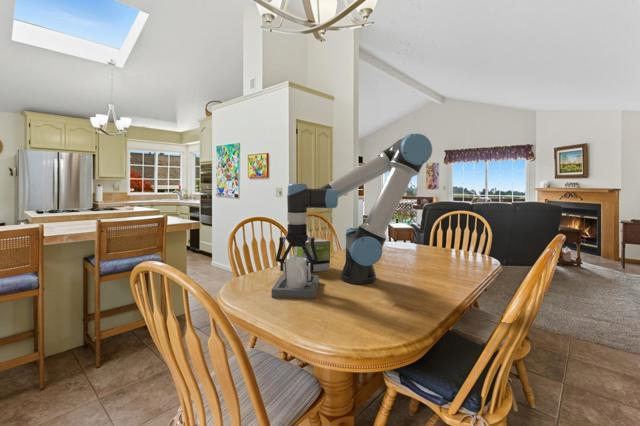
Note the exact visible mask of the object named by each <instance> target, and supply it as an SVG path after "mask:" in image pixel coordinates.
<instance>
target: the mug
mask: <svg viewBox="0 0 640 426" xmlns="http://www.w3.org/2000/svg"><path fill="white" fill-rule="evenodd" d="M285 262H286V281H287V286H288V287H290V288H301V287H304V286H306V285H307V275H308V272H307V262H306V259H305V258H301V257H295V258H294V257H289V258H287V259H285Z"/></svg>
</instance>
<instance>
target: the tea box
mask: <svg viewBox="0 0 640 426" xmlns="http://www.w3.org/2000/svg"><path fill="white" fill-rule="evenodd" d="M314 238H315V237H314ZM305 244H306V247H307V249H308V251H309V253H310V255H311V256H312V258H313V259H314V256H313V252H312V248H311V243H310V242H309V240H307V241H306V242H305ZM314 244H315V248H316V252H317V256H318V262H317V263H314V270H313V272H314V273H315V272H323V271H324V272H325V271H330V266H331V265H330V264H331V241H330V240H329V239H326V238H322V237H317V238H315V241H314ZM293 250H294V251H293V252H294V253H293V258H295V257H301V258H305V259H306V262H307V273H308V264H309V263H310V262H309V260H308V258H307V256H306V254H305V252H304V250H303V249H302V247H293ZM313 272H312V273H313Z"/></svg>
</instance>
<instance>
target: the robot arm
mask: <svg viewBox="0 0 640 426" xmlns="http://www.w3.org/2000/svg"><path fill="white" fill-rule="evenodd" d="M432 154H433V145H432V143H431V141H430V139H429V138H428V137H427V136H426V135H424V134H423V133H409V134H407V135H406V136H404V137H403V138H399V139H398V140H397V141H396V142H394V143H393V144H392V145H390V146H389V147H388V148H386V149H385V150H383V151H381V152H380V155H379V156H376V157H375V158H373V159H371V160H369V161H367V162H365V163H364V164H362V165H360V166H359V167H356V168H354V169H352V170H351V171H349V172H347V173H345V174H343V175H341V176H340V177H338V178H336V179H334V180H332V181H330V182H328V183H327V184H325V185H323V186H321V187H318V188H308V185H307V183H297V182H295V183H289V184H288V185H287V196H286V198H287V199H286V200H287V204H286V205H287V215H286V216H287V222H288V223H287V235H286V236H283V235H281V236H280V237H279V239H278V240H279V244H278V249H277V253H276V257H275V262H277V263H280V265H279V266H280V269H279V270H280V272H282V274H283V280H285V279H286V258H287V257H288V255H289V252H291V249H292V247H293V248H294V247H302V249H303V250H304V252H305V254H306V256H307V258H308V260H309V262H310V263H309V264H308V272H307V275H308V281H310V280H311V275H312V273H313V270H314V263H317V262H318V256H317V252H316V248H315V244H314V241H315V236H312V237H311V236H308V234H307V233H308V231H307V230H308V225H307V222H308V219H307V218H308V217H307V216H308V210H307V209H336V208H337V207H338V204H339V198H341V197H342V196H345V195H346V194H348V193H350V192H352V191H354V190H356V189H358V188H359V187H361V186H364V185H365V184H367V183H369V182H371V181H373V180H375V179H376V178H379V177H380V176H383V175H384V174H386V173H388V175H387V177H386V179H385V180H384V183H383V185H382V187H381V190H379V193H378V195H377V197H376V199H375V201H374V204H373V206H372V207H371V209H370V212H369V213H368V216H367V218H366V219H365V222H363V223H362V224H359V226H358V227H347V228H346V230H345V261H344V265H343V268H342V271H341V275H340V277H341V278H340V279H341V281H343V282H345V283H348V284H352V285H353V284H354V285H367V284H368V285H369V284H373V283H375V282H376V281H377V280H376V279H377V274H376V271H375V268H374V265H375V264H376V263H378V262H379V261H380V260H381V258H382V254H383V246H384V244H385V242H386V241H387V236H386V231H387V229H388V227H389V225H390V223H391V222H392V221H391V220H392V219H393V217H394V215H395V213H396V211H397V208H398V207H399V204H400V203H401V200H402V198H403V196H404V194H405V192H406V190H407V189H408V187H409V184H410V183H411V181H412V178H413V177H414V176H415V177H416V176H417V175H419V173H420V171H421V169H422V167H423V165H424V164H425V163H427V162H428V161H429V160H430V158H431V157H432ZM286 240H287V242H288V243H289V244H288V246H287V247H286V250H285V251H284V253H283V255H282V251H283V248H284V243H285V242H286ZM307 240H309V242H310V243H311V248H312V252H313V256H314V259H313V258H312V256H311V255H310V253H309V251H308V249H307V247H306V244H305V242H306V241H307ZM281 256H282V257H281Z"/></svg>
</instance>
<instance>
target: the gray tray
mask: <svg viewBox="0 0 640 426" xmlns="http://www.w3.org/2000/svg"><path fill="white" fill-rule="evenodd" d="M319 283H320V275H319V274H317V275H316V274H311V280H310V281H308V274H307V285H306V286H304V287H301V288H290V287H288V286H287V281H286V279H285V280H283V273H281V275H280V276H279V278H278V279H277V280H276V281H275V283H274V284H273V287H272V288H271V298H277V299H279V298H283V299H285V298H286V299H287V298H288V299H309V300H310V299H314V300H316V296H317V292H318V287H319Z"/></svg>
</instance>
